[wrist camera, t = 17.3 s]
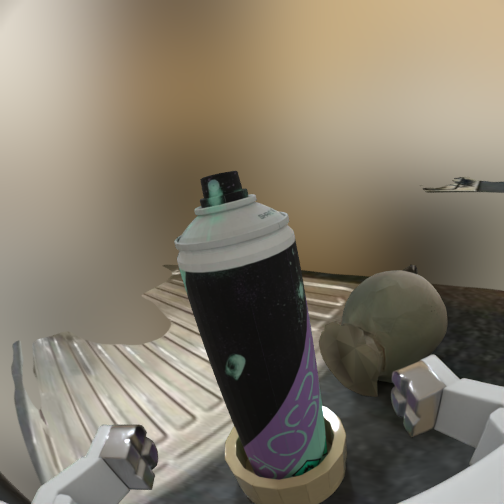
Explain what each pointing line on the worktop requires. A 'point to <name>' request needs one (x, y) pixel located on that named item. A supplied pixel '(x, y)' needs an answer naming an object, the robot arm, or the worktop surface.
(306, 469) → the spray can
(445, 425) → the robot arm
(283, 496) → the beige base ring
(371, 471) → the worktop surface
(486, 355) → the worktop surface
